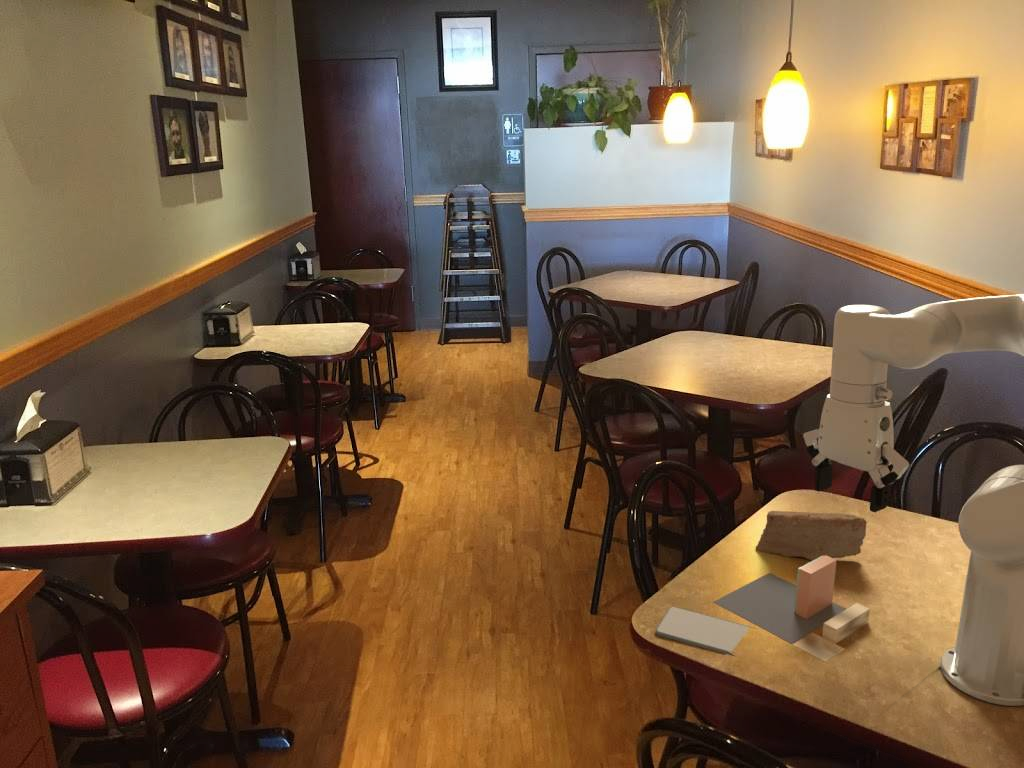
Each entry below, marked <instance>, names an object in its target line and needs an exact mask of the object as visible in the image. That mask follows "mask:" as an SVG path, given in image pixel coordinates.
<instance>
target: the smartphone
mask: <svg viewBox="0 0 1024 768" xmlns="http://www.w3.org/2000/svg"><path fill="white" fill-rule="evenodd" d="M751 628H752V629H754V627H753V626H750V625H746V624H742V623H738V622H735V621H730V620H727V619H723V618H718V617H717V616H716V617H715V616H711V615H708V614H704V613H700V612H696V611H692V610H688V609H685V608H682V607H677V606H670V607H668V609H667V610H666V612H665V614H664V615H663V617H662V618H661V620H660V622H659V623H658V625H657V627H656V629H655V634H656V636H659V637H661V638H662V637H663V638H666V639H668V640H671V641H672V640H673V641H676V642H680V643H683V644H688V645H691V646H695V647H699V648H703V649H706V650H710V651H714V652H718V653H722V654H725V655H728V656H731V657H736V655H735V654H737V655H738V652H733V651H734V649H735V648H736V647H737V645H738V644H739V643H740V641H741V640H742V639H743V638H744V636H745V635H746V634H747V633H748V631H750V629H751ZM755 629H758V628H756V627H755Z"/></svg>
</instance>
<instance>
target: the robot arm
mask: <svg viewBox="0 0 1024 768" xmlns="http://www.w3.org/2000/svg"><path fill="white" fill-rule="evenodd" d="M834 315H835V316H834V322H833V337H832V338H833V339H832V354H831V355H832V356H831V369H830V385H829V394H827V395H826V397H825V400H824V403H823V407H822V411H821V416H820V421H819V428H817V429H814V430H810V431H807V432H804V433H803V435H802V436H803V439H804V442H805V445H806V451H807V453H808V454H809V456H810V457H811V463H812V465H813V466H815V472H814V491H816V492H818V493H819V492H822V491H824V490H827V489H830V488H832V486H833V484H832V483H833V469H834V468H833V467H834V465H833V463H832V462H835V463H839V464H842V465H845V466H847V467H851V468H854V469H856V470H859V471H864V472H868V474H869V476H870V477H871V479H872V481H873V483H874V484H875V485H872V486H871V487H870V501H869V510H870V512H871V513H877V512H880V511H882V510H884V509H886V508H887V506H888V504H889V498H890V491H891V490H890V489H891V485H893V484H894V483H895V482H897V481H898V480H899V479H902V477H903V474H905V472H906V471H907V470H908V468H909V466H910V463H909V461H908V460H907V459H905V458H904V457H903V456H902V455H901V454H900V453H899V452H898V451H896V450H895V449H894V445H895V444H894V443H895V442H894V441H895V439H894V436H895V435H894V421H893V419H894V418H893V412H892V407H891V406H892V405H891V402H889V401H887V400H891V399H892V397H893V391H892V390H891V389H888V388H887V387H888V382H887V381H888V380H887V379H888V366H889V365H890V366H893V367H894V368H895V367H897V368H898V369H899V368H900V369H905V370H915V369H920V368H923V367H925V366H927V365H929V364H930V363H933V362H934V361H936V360H937V359H939V358H941V357H942V356H945V355H947V354H956V353H969V352H970V353H971V352H983V351H985V352H986V351H1005V352H1012V353H1016V354H1019V355H1020V356H1022V357H1024V293H1016V294H1011V295H1009V294H1008V295H995V296H985V297H984V296H982V297H973V298H964V299H954V300H947V301H937V302H934V303H928V304H927V303H926V304H924V305H920V306H918V307H916V308H913V309H911V310H909V311H906V312H902V313H898V314H891V313H890V311H889V310H888V309H886V308H885V307H882V306H878V305H871V304H851V305H845V306H842V307H840V308H838V310H837V311H836V312H835V314H834ZM817 439H818V440H817ZM830 461H832V462H830ZM890 465H891V466H893V467H892V469H891V471H890V469H889V467H888V466H890ZM958 531H959V535H960V537H961V540H962V541H963V544H964V545H965V546H966V548H967V549H968V550H970V554H969V555H970V556H969V560H968V568H967V573H966V578H965V585H964V591H963V597H962V605H961V609H960V616H959V622H958V629H957V635H956V642H955V646H953V647H952V646H951V648H948V649H947V650H945V651H944V652H943V653H942V655H941V658H940V670H941V673H942V674H943V676H944V677H945V679H946V680H947V681H948V682H949V683H950V684H952V685H953V686H954V687H955V688H957V689H958V690H960V691H962V692H963V693H965V694H966V695H968V696H970V697H971V696H972V697H973V698H975V699H977V700H981V701H982V702H983V701H984V702H987V703H991V704H994V705H1002V706H1007V707H1008V706H1010V707H1019V706H1024V464H1015V465H1014V464H1013V465H1010V466H1006V467H1004V468H1001V469H1000V470H998V471H996V472H994V473H993V474H992V475H990V476H989V477H988V478H987V479H986V480H985V481H984V482H983V483H982V484H981V485H980V486H979V487H978V489H976V491H975V492H974V493H973V494H972V495H970V497H969V498H968V499H967V501H966V502H965V504H964V505H963V506H962V508H961V510H960V514H959V515H958Z"/></svg>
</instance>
